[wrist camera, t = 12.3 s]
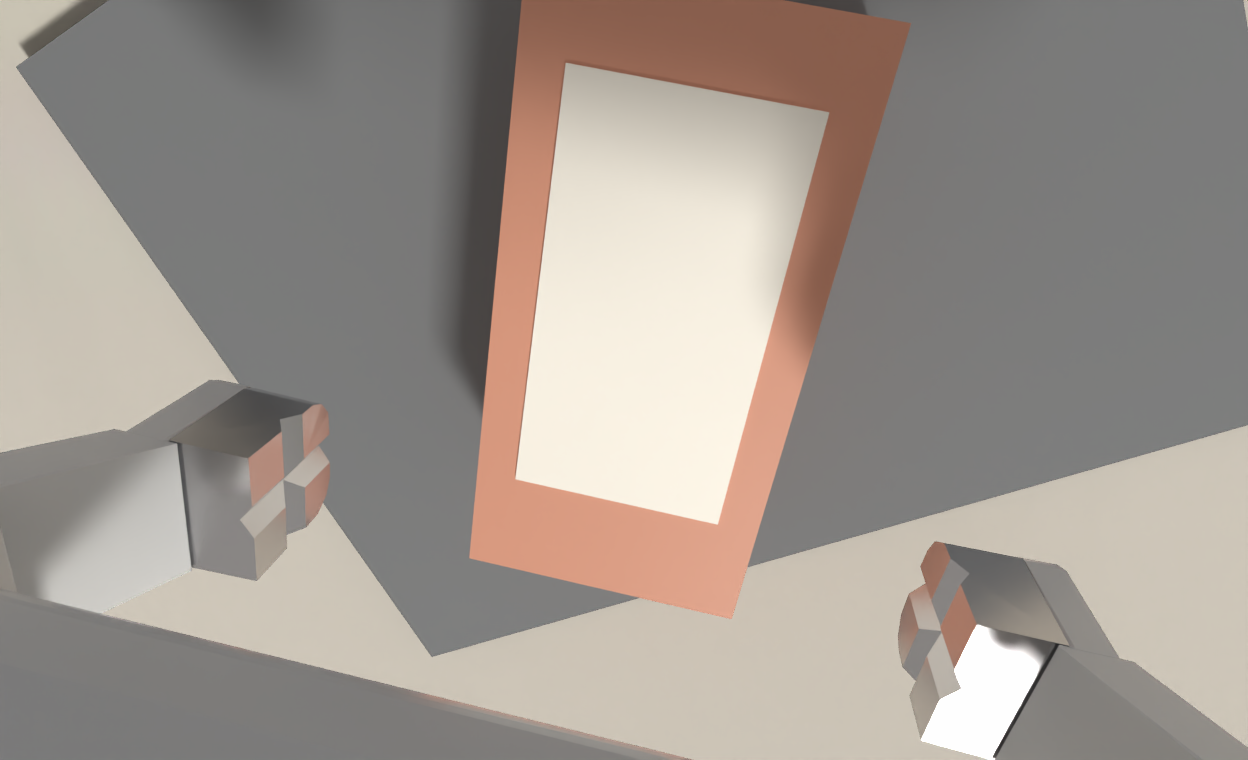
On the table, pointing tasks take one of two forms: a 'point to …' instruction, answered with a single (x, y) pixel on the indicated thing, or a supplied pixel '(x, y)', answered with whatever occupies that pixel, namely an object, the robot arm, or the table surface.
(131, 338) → the table surface
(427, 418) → the mat
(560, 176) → the block
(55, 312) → the table surface
